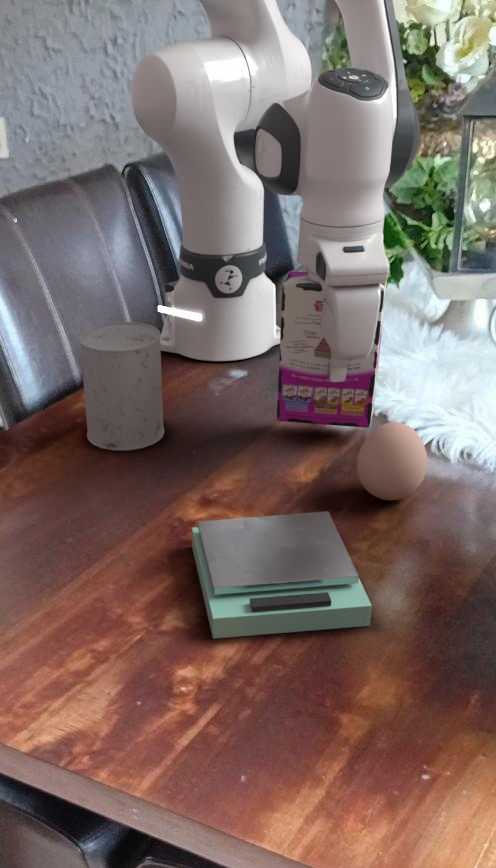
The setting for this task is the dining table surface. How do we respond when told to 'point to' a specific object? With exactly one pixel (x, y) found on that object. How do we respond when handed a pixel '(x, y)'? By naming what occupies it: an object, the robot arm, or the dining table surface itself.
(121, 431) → the tin can
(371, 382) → the candy bar box
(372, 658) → the dining table surface
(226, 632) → the scale
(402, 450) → the egg
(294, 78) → the robot arm
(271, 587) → the scale pan
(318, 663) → the dining table surface
